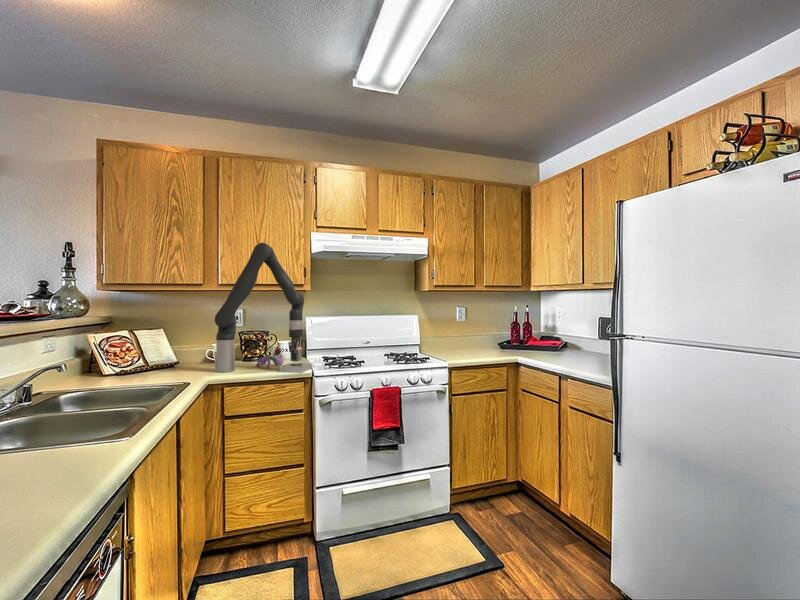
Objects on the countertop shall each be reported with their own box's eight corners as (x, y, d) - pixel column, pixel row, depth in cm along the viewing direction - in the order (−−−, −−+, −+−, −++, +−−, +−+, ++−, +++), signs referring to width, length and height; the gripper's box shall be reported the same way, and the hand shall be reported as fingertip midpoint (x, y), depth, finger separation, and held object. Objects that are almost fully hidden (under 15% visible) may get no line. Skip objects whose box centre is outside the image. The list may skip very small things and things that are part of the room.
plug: (290, 361, 211) (290, 348, 211) (294, 360, 215) (294, 347, 215) (298, 361, 210) (298, 348, 210) (301, 360, 215) (301, 347, 215)
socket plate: (279, 372, 208) (279, 366, 208) (290, 367, 220) (290, 362, 220) (301, 372, 205) (301, 366, 205) (311, 368, 218) (311, 363, 218)
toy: (282, 376, 225) (292, 352, 231) (265, 367, 214) (275, 343, 220) (270, 374, 231) (280, 351, 237) (252, 366, 220) (262, 342, 226)
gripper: (295, 327, 221) (295, 357, 221) (283, 329, 207) (283, 361, 207) (307, 327, 219) (307, 357, 219) (296, 329, 205) (296, 361, 205)
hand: (296, 359), depth 213 cm, fingers closed on plug, 4 cm apart
